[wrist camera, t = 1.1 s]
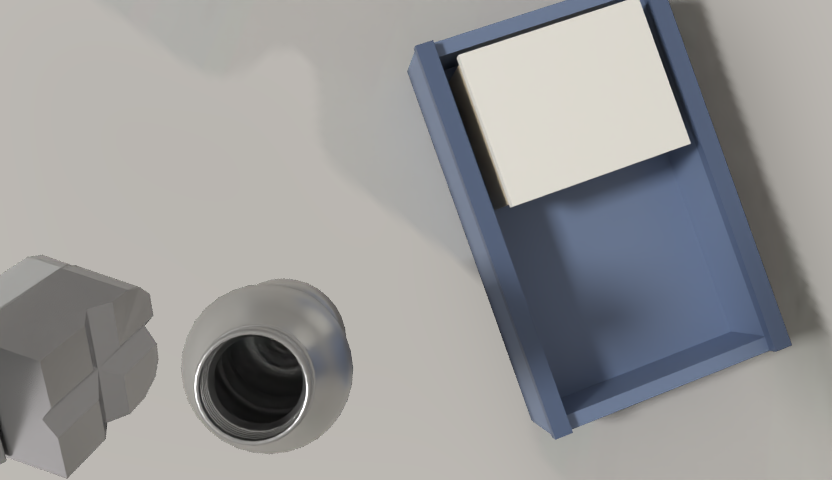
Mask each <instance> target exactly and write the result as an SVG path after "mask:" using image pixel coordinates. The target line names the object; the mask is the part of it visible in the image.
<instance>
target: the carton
mask: <svg viewBox="0 0 832 480" xmlns="http://www.w3.org/2000/svg"><path fill="white" fill-rule="evenodd" d="M457 60H458V63H459V66H458V67H457V69H456V71H455V72H454V74H453V76H452V77H451V79H450V81H449V84H450V87H451V90H452V93H453V96H454V98H455V101H456V104H457V107H458V110H459V112H460V115H461V118H462V121H463V124H464V126H465V129H466V132H467V135H468V138H469V140H470V143H471V146H472V149H473V152H474V154H475V157H476V160H477V163H478V166H479V168H480V171H481V174H482V177H483V180H484V182H485V185H486V188H487V191H488V194H489V196H490V199H491V202H492V205H493V208H494V210H496V209H499V208H502V207H505V206H508V205H509V206H510V208H511V207H514V206H516V205H519V204H522V203H525V202H528V201H531V200H533V199H536V198H539V197H542V196H545V195H547V194H550V193H553V192H556V191H559V190H562V189H564V188H567V187H570V186H573V185H576V184H578V183H581V182H584V181H587V180H590V179H593V178H595V177H598V176H601V175H604V174H607V173H609V172H612V171H615V170H618V169H621V168H624V167H626V166H629V165H632V164H635V163H638V162H640V161H643V160H646V159H649V158H652V157H655V156H657V155H660V154H663V153H666V152H669V151H671V150H674V149H677V148H680V147H683V146H685V145H688V144H691V142H690V140H689V137H688V134H687V131H686V129H685V126H684V123H683V120H682V117H681V115H680V112H679V109H678V106H677V103H676V101H675V98H674V95H673V92H672V89H671V87H670V84H669V81H668V78H667V76H666V73H665V70H664V67H663V64H662V62H661V59H660V56H659V53H658V50H657V48H656V45H655V42H654V39H653V37H652V34H651V31H650V28H649V25H648V23H647V20H646V17H645V14H644V11H643V9H642V6H641V3H640V0H626V1H623V2H620V3H617V4H614V5H611V6H608V7H605V8H601V9H598V10H595V11H592V12H589V13H586V14H583V15H580V16H577V17H574V18H571V19H568V20H565V21H562V22H558V23H555V24H552V25H549V26H546V27H543V28H540V29H537V30H534V31H531V32H528V33H525V34H522V35H518V36H515V37H512V38H509V39H506V40H503V41H500V42H497V43H494V44H491V45H488V46H485V47H482V48H479V49H475V50H472V51H469V52H466V53H463V54H460V55H458V57H457Z"/></svg>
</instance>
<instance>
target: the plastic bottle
mask: <svg viewBox="0 0 832 480" xmlns="http://www.w3.org/2000/svg"><path fill="white" fill-rule="evenodd" d="M182 353H183V354H182V365H181V372H182V380H183V387H184V390H185V393H186V396H187V399H188V401H189V404H190V405H191V407H192V409H193V411H194V412H195V414H196V416H197V417H198V418H199V420H200V421H201V422H202V423H203V424H204V425H205V427H206V428H207V429H208V430H209V431H210V432H212V433H213V434H214V435H216V436H217V437H218V438H219V439H221V440H222V441H224V442H226V443H228V444H230V445H232V446H234V447H236V448H239V449H243V450H247V451H249V452H253V453H265V454H273V453H282V452H288V451H292V450H295V449H298V448H301V447H304V446H305V445H307V444H309V443H311V442H312V441H314V440H316V439H318V438H319V437H320V436H321V435H322V434H324V433H325V432H326V431H327V430H328V429H329V428H330V427H331V426H332V425H333V423H334V422H335V421H336V420H337V418H338V417H339V416H340V414H341V412H342V410H343V408H344V406H345V404H346V402H347V400H348V396H349V393H350V389H351V385H352V374H353V365H352V357H351V351H350V348H349V345H348V342H347V339H346V333H345V327H344V324H343V321H342V318H341V315H340V314H339V312H338V310H337V308H336V306H335V305H334V304H333V303H332V302H331V300H330V299H329V298H328V297H327V296H326V295H325V294H323V293H322V292H321V291H320V290H318V289H317V288H315V287H313V286H311V285H309V284H307V283H304V282H301V281H298V280H292V279H275V280H269V281H266V282H262V283H259V284H257V285H249V286H245V287H242V288H239V289H235V290H233V291H231V292H229V293H227V294H225V295H223V296H221V297H219V298H218V299H216V300H215V301H214V302H213V303H212V304H210V305H209V306H208V307H207V308H206V309H205V310H204V311H203V312H202V313H201V315H200V316H199V317H198V318H197V319H196V321H195V322H194V324H193V326H192V328H191V330H190V332H189V334H188V336H187V338H186V342H185V345H184V349H183V352H182Z"/></svg>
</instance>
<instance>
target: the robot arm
mask: <svg viewBox="0 0 832 480" xmlns="http://www.w3.org/2000/svg"><path fill="white" fill-rule="evenodd" d="M152 316H153V311H152V305H151V299H150V294H149V293H147V292H146V291H144V290H143V289H141V288H140V287H138V286H135V285H132V284H129V283H126V282H123V281H120V280H117V279H114V278H111V277H108V276H105V275H102V274H99V273H96V272H93V271H91V270H87V269H85V268H82V267H79V266H76V265H70V264H67V263H64V262H61V261H58V260H56V259H53V258H50V257H47V256H44V255H39V256H31V257H27V258H25V259H24V260H22V261H21V262H19V263H18V264H16V265H14V266H13V267H11V268H10V269H8V270H7V271H5V272H4V273H2V274H1V275H0V464H2V463H4V462H5V461H6V457H8V458H11V459H13V460H16V461H19V462H22V463H25V464H28V465H30V466H33V467H36V468H39V469H41V470H44V471H47V472H50V473H53V474H56V475H58V476H61V477H64V478H68V477H69V476H70V475H71V474H72V473H73V472H74V471H75V470H76V469H77V468H78V467H79V466H80V465H81V464H82V463H83V462H84V461H85V460H86V459H87V458H88V457H89V456H90V455H91V454H92V453H93V451H95V450H96V448H97V447H98V446H99V445H100V444H101V443H102V442H103V441H104V440H105V439H106V429H107V422H110V421H113V420H115V419H118V418H120V417H123V416H126V415H128V414H130V413H131V412H132V411H133V410H134V409H135V408H136V407H137V406H138V405H139V403H140V402H141V401H142V400H143V399H144V398H145V396H146V394H147V392H148V390H149V388H150V386H151V384H152V382H153V380H154V378H155V376H156V370H157V364H158V351H157V343H156V342H155V340H154V339H153V337H152V336H151V335H150V333H149V332H148V330H147V329H146V327H145V325H146V324H147V322H148V321H149V320H150V319H151V317H152Z"/></svg>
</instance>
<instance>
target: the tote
mask: <svg viewBox="0 0 832 480" xmlns="http://www.w3.org/2000/svg"><path fill="white" fill-rule="evenodd" d="M623 1H626V0H566V1H563V2H559V3H556V4H553V5H550V6H547V7H544V8H541V9H538V10H535V11H531V12H528V13H525V14H522V15H519V16H516V17H513V18H510V19H507V20H504V21H500V22H497V23H494V24H491V25H488V26H485V27H482V28H479V29H476V30H472V31H469V32H466V33H463V34H460V35H457V36H454V37H451V38H448V39H445V40H441V41H438V42H435V43H434V42H433V40H432V41H429V42H426V43H423V44H420V45H417V46H415V48H414V51H415V52H414V55H413V58H412V60H411V63H410V66H409V68H408V71H407V72H408V75H409V77H410V80H411V83H412V86H413V89H414V91H415V94H416V97H417V100H418V103H419V106H420V108H421V111H422V114H423V117H424V120H425V122H426V125H427V128H428V131H429V134H430V136H431V139H432V142H433V145H434V148H435V150H436V153H437V156H438V159H439V162H440V164H441V167H442V170H443V173H444V176H445V178H446V181H447V184H448V187H449V190H450V193H451V195H452V198H453V201H454V204H455V207H456V209H457V212H458V215H459V218H460V221H461V223H462V226H463V229H464V232H465V235H466V237H467V240H468V243H469V246H470V249H471V251H472V254H473V257H474V260H475V263H476V266H477V268H478V271H479V274H480V277H481V280H482V282H483V285H484V288H485V291H486V294H487V296H488V299H489V302H490V304H491V308H492V310H493V313H494V316H495V318H496V322H497V324H498V327H499V330H500V333H501V336H502V338H503V341H504V344H505V347H506V350H507V352H508V355H509V358H510V361H511V364H512V366H513V369H514V372H515V375H516V378H517V381H518V383H519V386H520V389H521V392H522V395H523V397H524V400H525V403H526V406H527V409H528V411H529V414H530V417H531V420H532V421H533V422H535V423H536V424H537V425H539V426H540V427H542V428H543V429H544V430H546V431H547V432H549V433H550V434H551V435H552V437H553V438H554V439H558V438H561V437H563V436H566V435H568V434H571V433H573V432H572V429H574V428H576V427H579V426H581V425H584V424H586V423H589V422H591V421H594V420H596V419H599V418H601V417H604V416H606V415H609V414H611V413H614V412H617V411H619V410H622V409H624V408H627V407H629V406H632V405H634V404H637V403H639V402H642V401H644V400H647V399H649V398H652V397H654V396H657V395H659V394H662V393H664V392H667V391H669V390H672V389H674V388H677V387H679V386H682V385H684V384H687V383H689V382H692V381H694V380H697V379H699V378H702V377H704V376H707V375H709V374H712V373H715V372H717V371H720V370H722V369H725V368H727V367H730V366H732V365H735V364H737V363H740V362H742V361H745V360H747V359H750V358H752V357H755V356H757V355H760V354H762V353H765V352H767V351H775V352H776V351H779V350H781V349H784V348H786V347H789V346H791V345H792V344H791V341H790V338H789V336H788V333H787V330H786V327H785V324H784V322H783V319H782V316H781V313H780V311H779V308H778V305H777V302H776V299H775V297H774V294H773V291H772V288H771V285H770V283H769V280H768V277H767V274H766V272H765V269H764V266H763V263H762V260H761V258H760V255H759V252H758V249H757V247H756V244H755V241H754V238H753V235H752V233H751V230H750V227H749V224H748V221H747V219H746V216H745V213H744V210H743V208H742V205H741V202H740V199H739V196H738V194H737V191H736V188H735V185H734V182H733V180H732V177H731V174H730V171H729V169H728V166H727V163H726V160H725V157H724V155H723V152H722V149H721V146H720V143H719V141H718V138H717V135H716V132H715V130H714V127H713V124H712V121H711V118H710V116H709V113H708V110H707V107H706V104H705V102H704V99H703V96H702V93H701V91H700V88H699V85H698V82H697V79H696V77H695V74H694V71H693V68H692V65H691V63H690V60H689V57H688V54H687V52H686V49H685V46H684V43H683V40H682V38H681V35H680V32H679V29H678V26H677V24H676V21H675V18H674V15H673V13H672V10H671V7H670V4H669V1H668V0H640V3H641V6H642V9H643V11H644V14H645V17H646V20H647V23H648V25H649V28H650V31H651V34H652V37H653V39H654V42H655V45H656V48H657V50H658V53H659V56H660V59H661V62H662V64H663V67H664V70H665V73H666V76H667V78H668V81H669V84H670V87H671V89H672V92H673V95H674V98H675V101H676V103H677V106H678V109H679V112H680V115H681V117H682V120H683V123H684V126H685V129H686V131H687V134H688V137H689V140H690V142H691V144H688V145H685V146H683V147H680V148H677V149H674V150H671V151H669V152H666V153H663V154H660V155H657V156H655V157H652V158H649V159H646V160H643V161H640V162H638V163H635V164H632V165H629V166H626V167H624V168H621V169H618V170H615V171H612V172H609V173H607V174H604V175H601V176H598V177H595V178H593V179H590V180H587V181H584V182H581V183H578V184H576V185H573V186H570V187H567V188H564V189H562V190H559V191H556V192H553V193H550V194H547V195H545V196H542V197H539V198H536V199H533V200H531V201H528V202H525V203H522V204H519V205H516V206H514V207H511V208H510V206H509V205H508V206H505V207H502V208H499V209H496V210H494V208H493V205H492V202H491V199H490V196H489V194H488V191H487V188H486V185H485V182H484V180H483V177H482V174H481V171H480V168H479V166H478V163H477V160H476V157H475V154H474V152H473V149H472V146H471V143H470V140H469V138H468V135H467V132H466V129H465V126H464V124H463V121H462V118H461V115H460V112H459V110H458V107H457V104H456V101H455V98H454V96H453V93H452V90H451V87H450V84H449V81H450V79H451V77H452V76H453V74H454V72H455V71H456V69H457V67H458V66H459V63H458V60H457V57H458V55H460V54H463V53H466V52H469V51H472V50H475V49H479V48H482V47H485V46H488V45H491V44H494V43H497V42H500V41H503V40H506V39H509V38H512V37H515V36H518V35H522V34H525V33H528V32H531V31H534V30H537V29H540V28H543V27H546V26H549V25H552V24H555V23H558V22H562V21H565V20H568V19H571V18H574V17H577V16H580V15H583V14H586V13H589V12H592V11H595V10H598V9H601V8H605V7H608V6H611V5H614V4H617V3H620V2H623Z"/></svg>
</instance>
